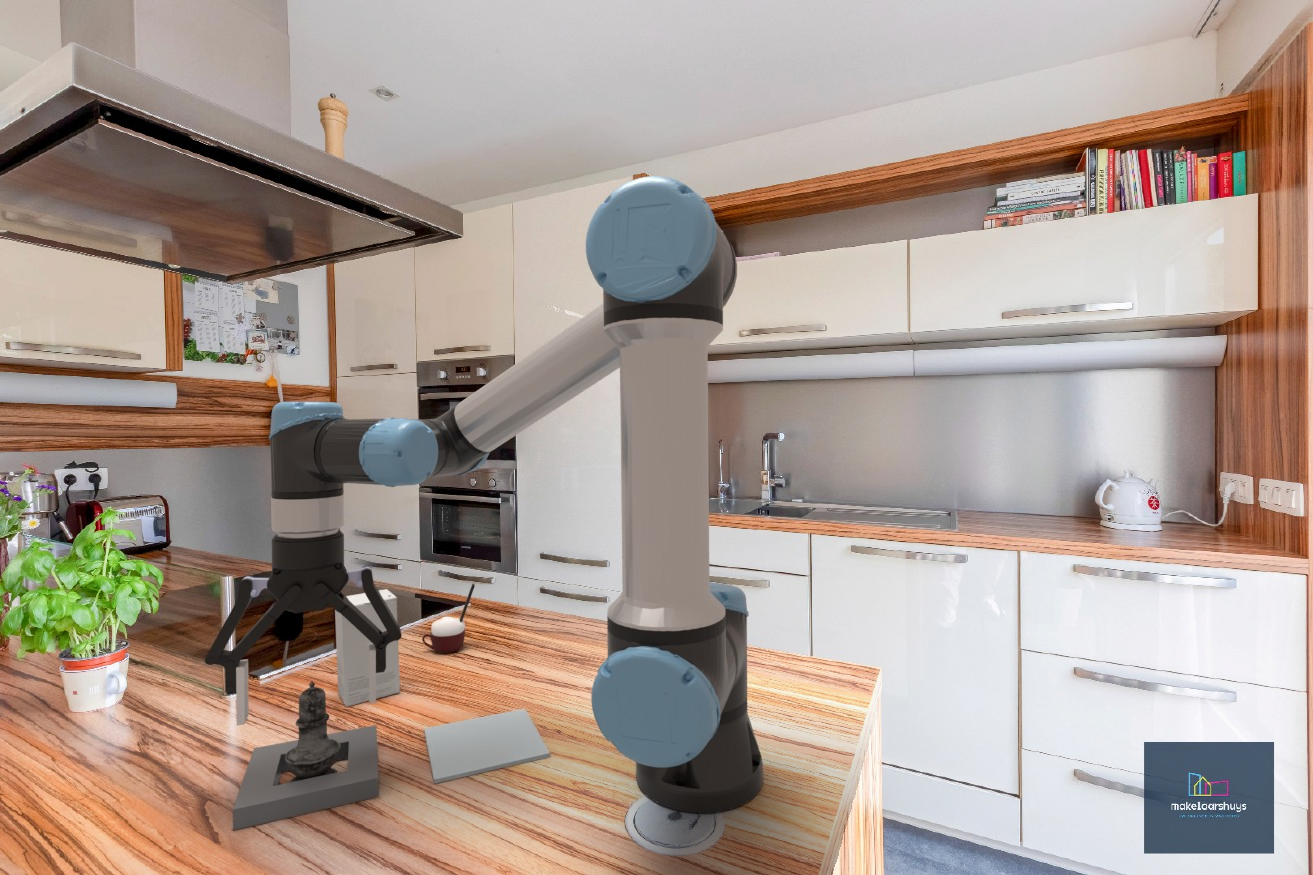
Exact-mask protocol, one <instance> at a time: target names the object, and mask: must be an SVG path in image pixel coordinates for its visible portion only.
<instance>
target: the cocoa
mask: <svg viewBox="0 0 1313 875" xmlns="http://www.w3.org/2000/svg"><path fill="white" fill-rule="evenodd" d="M474 589H475V583H472V584H471V586H470V589H469V592H468V594H467V597H466V599H465V600H466V601H465V603H464V605H463V609H462V610H461V612H462V613H461V615H460V617H459V618H457V617H453V616H452V617H451V616H443V617H441V618H440V619H437V620H435V621H433V622H432V623H431V631H430V634H429V633H426V634H423V636H422V638H421V639H422V640H421V641H422V643H423V644H424V646H426V647H427V648H429V649H432V650H435V651H436V652H438V653H439V654H453V653H455V652H457V651H459V649H461V647H462V646H463V645H464V642H465V636H466V623H465V620H464V617H465V615H466V612H467V609H468V607H469V603H470V601H471V597H472V595H473V591H474ZM427 637H428V638H430V641H431V644H429V643H427V642H426V640H425V638H427Z"/></svg>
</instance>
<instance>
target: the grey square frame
mask: <svg viewBox="0 0 1313 875" xmlns="http://www.w3.org/2000/svg"><path fill="white" fill-rule="evenodd" d="M377 727H378V726H377V724H375V725H370V726H365V727H364V726H363V727H359V728H353V729H349V730H345V731H344V730H343V731H338V732H333V733H327V735H328V738H329V739H333V740H336V741H338V742H339V743H340V745H341V747H340V750H339V751H338V756H337V758H336V761H335V762H339V761H342V760H347V770H343V771H342V770H341V771H337V773H332V774H328V775H323V776H318V777H313V778H309V779H304V780H299V781H295V782H290V781H289V782H290V783H289V782H285V783H282V784H279V782H280V778H281V775H282V773H284V772H289V771H290V769H289V767H288V763H287V762H286V761H285V755H286V754H287V753H288V752H289V751H290V750H291V749H292V748H294V747H296V746H297V744H298V740H299V739H294V740H290V741H285V742H279V743H275V744H270V745H264V746H259V747H254V748H253V750H252V753H251V756H250V758H249V762H248V765H247V768H246V770H245V772H244V776H243V779H242V781H241V784H240V786H239V787H240V788H239V790H238V793H237V796H236V799H235V802H234V804H233V807H232V809H231V810H232V831H236V830H242V829H246V828H249V827H254V826H259V825H262V824H266V823H272V822H275V821H279V820H280V821H281V820H283V819H288V818H294V817H297V816H302V815H305V814H309V813H315V812H318V811H323V810H327V809H330V808H336V807H339V806H344V805H345V806H346V805H349V804H353V803H357V802H362V801H366V800H371V799H374V798H379V796H380V795H379V792H380V791H379V790H380V789H379V764H378V762H379V757H378V755H379V754H378V731H377V730H378V729H377ZM290 772H291V771H290Z"/></svg>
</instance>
